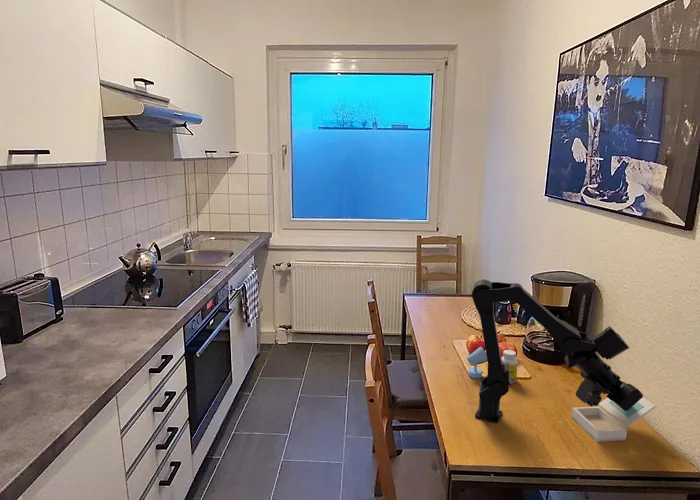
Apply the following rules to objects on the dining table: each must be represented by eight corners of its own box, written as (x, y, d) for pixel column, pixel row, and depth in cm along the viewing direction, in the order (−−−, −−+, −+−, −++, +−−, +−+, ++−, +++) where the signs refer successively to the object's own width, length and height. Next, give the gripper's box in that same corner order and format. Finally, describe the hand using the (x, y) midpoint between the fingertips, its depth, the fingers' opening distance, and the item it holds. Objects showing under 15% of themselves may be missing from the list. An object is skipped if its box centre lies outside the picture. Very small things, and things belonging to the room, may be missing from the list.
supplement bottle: (497, 381, 157) (499, 353, 155) (500, 374, 162) (502, 347, 160) (514, 384, 154) (516, 356, 153) (517, 378, 159) (519, 350, 157)
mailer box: (596, 441, 123) (597, 431, 123) (571, 417, 135) (572, 407, 134) (625, 440, 124) (627, 429, 123) (598, 416, 136) (599, 406, 135)
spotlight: (482, 371, 164) (463, 372, 163) (484, 344, 162) (465, 345, 161) (489, 377, 159) (469, 379, 158) (490, 349, 158) (471, 351, 156)
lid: (654, 405, 123) (656, 407, 123) (624, 384, 134) (626, 386, 134) (625, 426, 123) (626, 428, 123) (598, 403, 135) (599, 405, 135)
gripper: (552, 371, 135) (585, 406, 138) (591, 405, 117) (628, 443, 120) (581, 345, 134) (614, 380, 137) (625, 374, 116) (661, 413, 119)
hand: (627, 403), depth 129 cm, fingers closed
